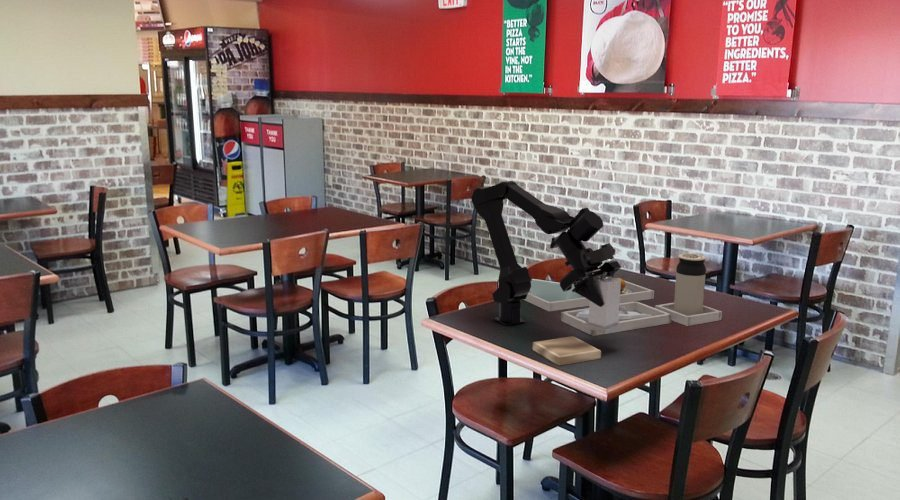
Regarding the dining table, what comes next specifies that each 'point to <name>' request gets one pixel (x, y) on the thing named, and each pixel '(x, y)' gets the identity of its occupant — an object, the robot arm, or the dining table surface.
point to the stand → (566, 350)
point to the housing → (605, 305)
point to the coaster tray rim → (556, 303)
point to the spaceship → (622, 315)
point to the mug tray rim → (705, 317)
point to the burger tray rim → (636, 293)
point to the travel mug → (690, 284)
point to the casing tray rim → (655, 319)
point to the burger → (623, 289)
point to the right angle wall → (551, 291)
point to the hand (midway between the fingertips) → (609, 303)
